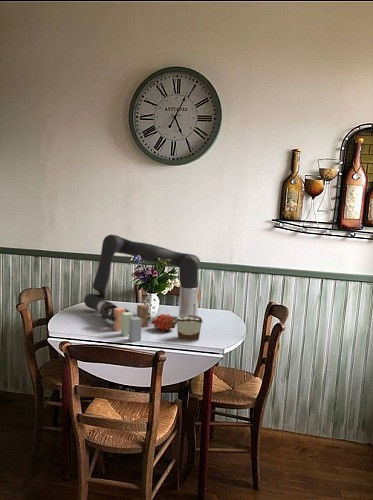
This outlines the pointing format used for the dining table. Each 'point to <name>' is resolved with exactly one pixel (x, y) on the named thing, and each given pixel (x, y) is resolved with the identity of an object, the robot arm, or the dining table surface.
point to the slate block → (134, 329)
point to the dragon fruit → (164, 322)
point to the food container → (188, 326)
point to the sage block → (125, 323)
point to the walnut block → (143, 315)
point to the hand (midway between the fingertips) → (121, 318)
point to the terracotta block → (118, 317)
